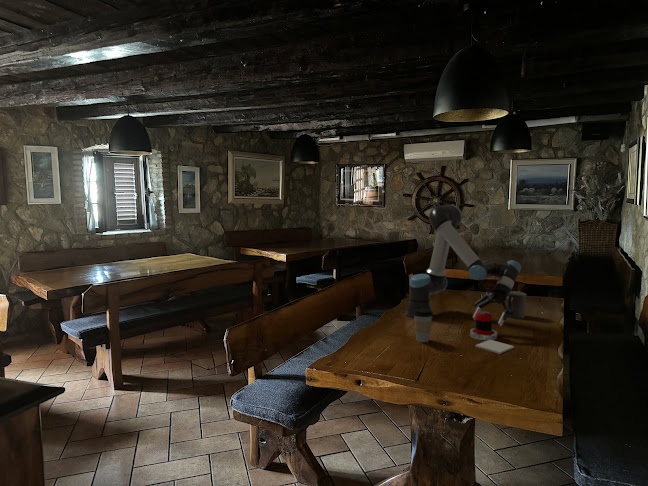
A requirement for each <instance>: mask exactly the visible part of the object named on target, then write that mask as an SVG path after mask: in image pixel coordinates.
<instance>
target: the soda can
mask: <svg viewBox="0 0 648 486" xmlns="http://www.w3.org/2000/svg"><path fill="white" fill-rule="evenodd" d="M474 328H475V333H477V334H482V335H492V330H493V315H492V314H491V312H489V311H486V310H481V311H479V312H478V313H477V314H476V320H475V327H474Z"/></svg>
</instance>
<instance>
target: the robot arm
mask: <svg viewBox="0 0 648 486" xmlns="http://www.w3.org/2000/svg"><path fill="white" fill-rule="evenodd" d="M428 217H429V219H428V220H429V222H430V225H431V226H432V228H433V229H434V230H435V232H436V237H435V240H434V245H433V251H432V255H431V259H430V263H429V267H428V268H427V269H426V271H425V273H418V274H417V273H416V274H414V275H412V276H410V278H409V300H408V301H409V302H408V305H407V308H406V311H405V312H406V314H407V315H408V316H407V315H406V316H407V317H410V318H414V315H413V312H414V310H415V309H417V308H427V309H430V310H431V311H432V313H433V314H434V311H433V309H432V305H431V296H432V295H435V294H437V295H438V294H440V293H442V292H444V291H445V290H446V288H447V286H448V279H447V277H446V275H447V274H446V272H445V269H446V265H447V264H446V263H447V259H448V254H449V250H450V247H451V249H452V250H453V251H454V253H455V254H456V255H457V256H458V257H459V258H460V260H461V261H462V262H463V264H464V265H465V267H467V268H468V270H469V271H468V274H469V276H470V278H471V279H473V280H475V281H482V280H484V279H486V278H487V279H488V278H492V277H494V278H495V277H496V278H498V280H497V282H496V284H495V286H494V287H493V291H492V292H489V291H486V292H485V293H484V294H483V295H482V296H481V297H480V298H479V299H477V300H476V301H475V302H474V303H473V305H474V307H475V309H474V310H473V311H474V312H473V315H472V318H473V320H474V321H476V314H477V313H478V312H479V311H482V308H484V307H486V306H488V305H490V304H493V303H494V304H498V305H499V304H501V305H502V307H503V310H504V311H503V312H502V314H501V316H500V318H499V320H498V322H497V323H498V326H499V327H502V326H503V324H504V323H505V321H507V319H508V318H509V317H508V315H513V314H514V313H513V304H512V302H513V298H512V296H509V294H510V291H512V289H513V288H514V285H515V283H516V280H517V279H518V277H519V275H520V273H521V270H522V265H521V264H520V262H518V261H516V260H513V259H510V260H508V261H507V262H506V263H500V262H496V261H495V262H494V261H491V260H483V261H482V260H481V259H480V258H479V257H478V255H477V254H476V253H475V252H474V250H473V249H472V248H471V247H470V245H469V244H468V243H467V242H466V240H465V239H464V238H463V237H462V235H460V233H459V232H458V231H457V228H458V225H460V223H461V222H462V220H463V212H462V210H461V209H460V208H459V206H457V205H453V204H452V205H451V204H447V205H436V206H434V207H432V209H431V210H430V212H429V215H428ZM507 299H508V303H509V311H508V309H507V303H506V302H505V301H507ZM414 319H415V318H414Z"/></svg>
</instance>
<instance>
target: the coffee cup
mask: <svg viewBox="0 0 648 486" xmlns="http://www.w3.org/2000/svg"><path fill="white" fill-rule="evenodd" d="M432 311H433V310H432ZM432 311H431V310H430V309H427V308H417V309H415V310H414V312H413V315H414V319H413V320H414V329H415V337H416V341H417V342H419V343H422V342H423V343H425V342H426V343H429V341H430V336H431V334H430V333H431V329H432V320H433V316H434V312H433V313H432ZM423 343H422V344H423Z"/></svg>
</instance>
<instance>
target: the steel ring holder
mask: <svg viewBox="0 0 648 486" xmlns="http://www.w3.org/2000/svg"><path fill="white" fill-rule="evenodd" d="M469 337H471V338H472V339H475V340H478V341H487V340H493V341H496V340H497V338H498V332H497V331H496V330H494V329H492V335H482V334H477V333H475V327H473V328H471V329H470V330H469Z"/></svg>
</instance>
